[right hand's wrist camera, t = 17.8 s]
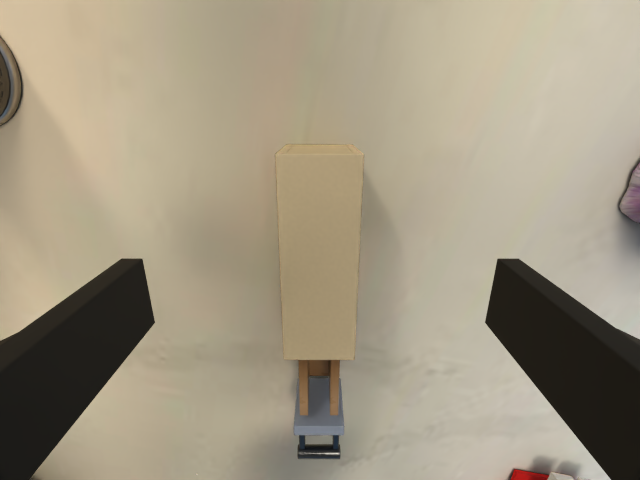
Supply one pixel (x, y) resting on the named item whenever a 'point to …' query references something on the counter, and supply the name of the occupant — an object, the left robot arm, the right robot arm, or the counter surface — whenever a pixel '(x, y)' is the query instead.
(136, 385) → the counter surface
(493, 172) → the counter surface
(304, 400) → the drawer
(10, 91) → the left robot arm
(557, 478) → the toy
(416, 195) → the counter surface
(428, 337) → the counter surface
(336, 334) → the cabinet
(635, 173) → the figurine
